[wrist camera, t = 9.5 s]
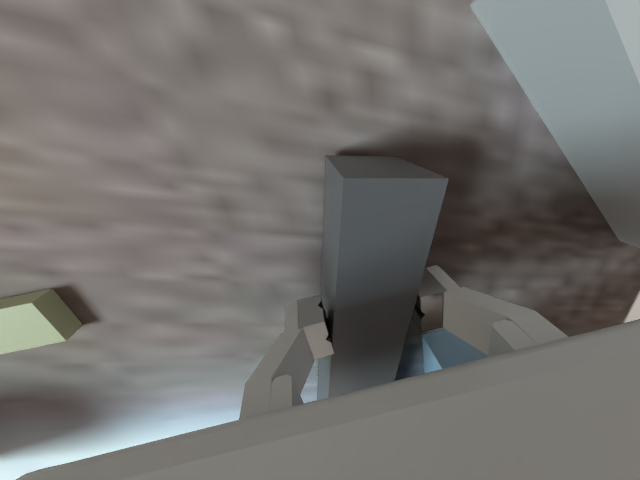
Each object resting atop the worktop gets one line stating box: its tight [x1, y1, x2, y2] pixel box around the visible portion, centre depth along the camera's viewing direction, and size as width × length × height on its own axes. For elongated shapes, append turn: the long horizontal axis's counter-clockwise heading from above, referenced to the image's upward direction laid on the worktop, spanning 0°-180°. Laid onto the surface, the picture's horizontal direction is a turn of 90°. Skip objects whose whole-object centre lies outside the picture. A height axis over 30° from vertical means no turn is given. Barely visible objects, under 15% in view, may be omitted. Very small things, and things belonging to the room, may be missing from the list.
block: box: [422, 329, 488, 373], centre depth 15 cm, size 5×5×5 cm
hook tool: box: [317, 156, 449, 400], centre depth 13 cm, size 19×13×4 cm
